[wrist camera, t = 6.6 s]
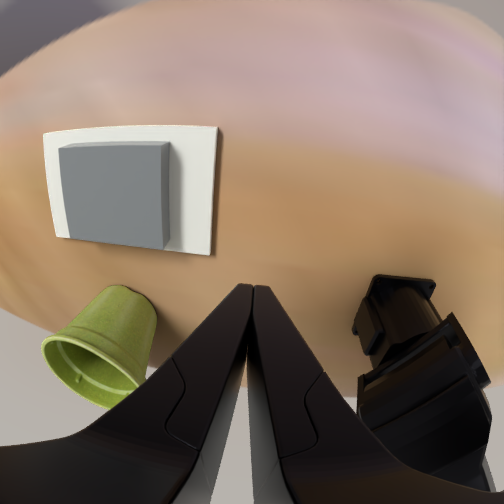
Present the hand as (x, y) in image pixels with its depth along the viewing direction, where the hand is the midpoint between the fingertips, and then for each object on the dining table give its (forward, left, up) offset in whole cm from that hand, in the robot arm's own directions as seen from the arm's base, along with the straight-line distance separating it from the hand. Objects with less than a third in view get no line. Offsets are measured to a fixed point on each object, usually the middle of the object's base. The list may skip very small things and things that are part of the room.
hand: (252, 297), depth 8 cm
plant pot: (+11, +13, -12) cm, 21 cm away
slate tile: (+6, +1, -11) cm, 12 cm away
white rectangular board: (+10, +1, -12) cm, 16 cm away
